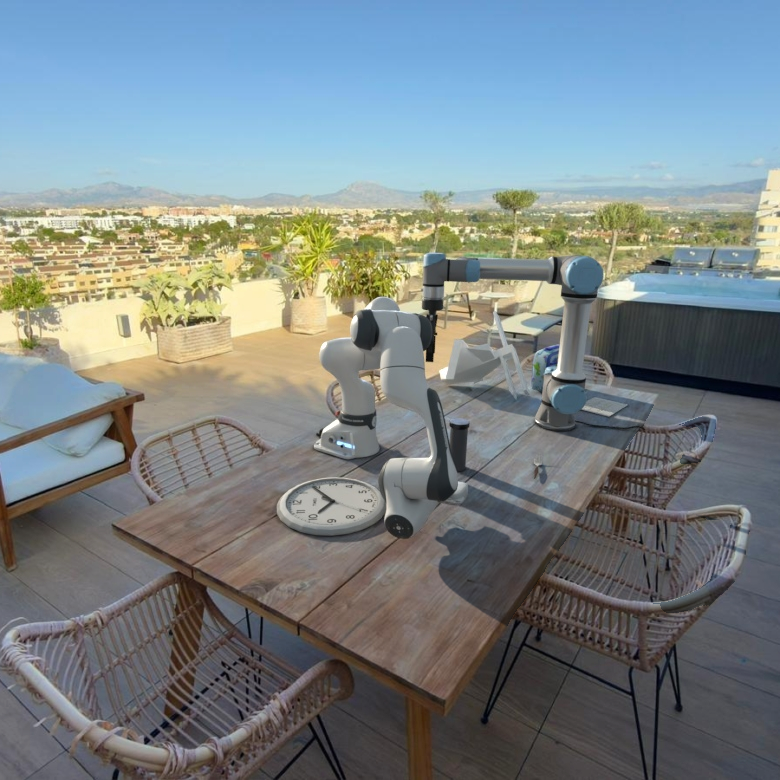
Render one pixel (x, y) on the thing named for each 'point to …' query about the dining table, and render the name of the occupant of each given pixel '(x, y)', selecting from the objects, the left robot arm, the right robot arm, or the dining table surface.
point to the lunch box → (543, 365)
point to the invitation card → (603, 406)
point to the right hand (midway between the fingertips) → (430, 357)
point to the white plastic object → (482, 362)
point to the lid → (459, 423)
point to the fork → (537, 465)
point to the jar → (458, 447)
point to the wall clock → (331, 506)
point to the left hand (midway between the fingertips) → (437, 474)
